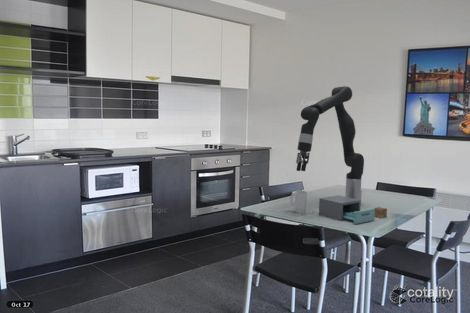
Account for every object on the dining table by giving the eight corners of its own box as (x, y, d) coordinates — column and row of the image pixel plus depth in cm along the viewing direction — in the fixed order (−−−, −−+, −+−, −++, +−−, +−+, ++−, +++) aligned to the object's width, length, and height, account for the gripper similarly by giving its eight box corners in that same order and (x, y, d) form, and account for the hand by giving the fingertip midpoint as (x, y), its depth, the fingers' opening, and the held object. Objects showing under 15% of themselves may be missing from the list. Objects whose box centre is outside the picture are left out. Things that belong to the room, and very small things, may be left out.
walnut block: (378, 215, 242) (379, 207, 242) (386, 217, 238) (387, 208, 238) (373, 216, 240) (373, 208, 239) (381, 218, 236) (381, 209, 235)
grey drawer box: (337, 211, 251) (338, 195, 250) (359, 216, 238) (360, 200, 237) (318, 214, 242) (319, 198, 241) (341, 220, 229) (341, 203, 228)
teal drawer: (350, 214, 243) (351, 203, 242) (375, 220, 230) (375, 208, 229) (331, 217, 234) (332, 206, 233) (356, 224, 221) (356, 212, 220)
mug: (308, 212, 248) (308, 191, 247) (302, 214, 243) (303, 193, 241) (293, 209, 254) (293, 189, 253) (287, 211, 249) (287, 191, 247)
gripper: (315, 143, 232) (311, 172, 231) (307, 144, 246) (302, 171, 245) (302, 140, 231) (298, 170, 230) (295, 142, 245) (290, 169, 244)
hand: (300, 170), depth 238 cm, fingers open, 8 cm apart
